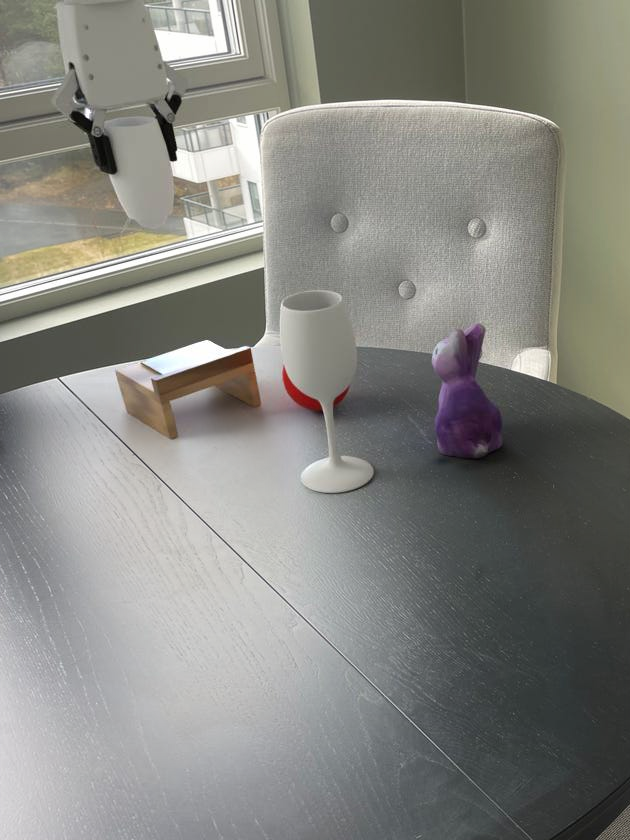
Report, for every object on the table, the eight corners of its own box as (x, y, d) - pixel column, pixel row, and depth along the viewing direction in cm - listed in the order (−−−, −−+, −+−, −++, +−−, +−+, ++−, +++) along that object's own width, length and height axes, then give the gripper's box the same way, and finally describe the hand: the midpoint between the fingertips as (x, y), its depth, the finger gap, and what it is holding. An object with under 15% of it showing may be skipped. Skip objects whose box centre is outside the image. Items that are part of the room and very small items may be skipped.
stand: (126, 412, 132) (110, 355, 127) (215, 380, 140) (203, 325, 135) (170, 439, 125) (155, 380, 120) (261, 404, 133) (250, 347, 128)
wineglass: (383, 461, 118) (363, 288, 105) (360, 496, 112) (336, 317, 99) (316, 455, 120) (289, 285, 107) (290, 490, 113) (257, 313, 100)
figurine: (444, 421, 126) (437, 306, 117) (516, 433, 123) (514, 316, 114) (410, 452, 120) (399, 334, 111) (485, 467, 116) (480, 345, 107)
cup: (210, 300, 124) (173, 119, 111) (160, 316, 120) (116, 130, 107) (180, 288, 128) (141, 113, 115) (131, 303, 124) (85, 123, 111)
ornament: (305, 428, 126) (293, 354, 120) (277, 404, 132) (264, 333, 126) (366, 410, 130) (357, 337, 124) (336, 387, 136) (326, 317, 130)
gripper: (153, -24, 110) (188, 148, 121) (2, -9, 101) (55, 175, 112) (187, -22, 105) (220, 157, 116) (32, -6, 96) (84, 186, 107)
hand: (139, 164), depth 114 cm, fingers closed on cup, 7 cm apart
